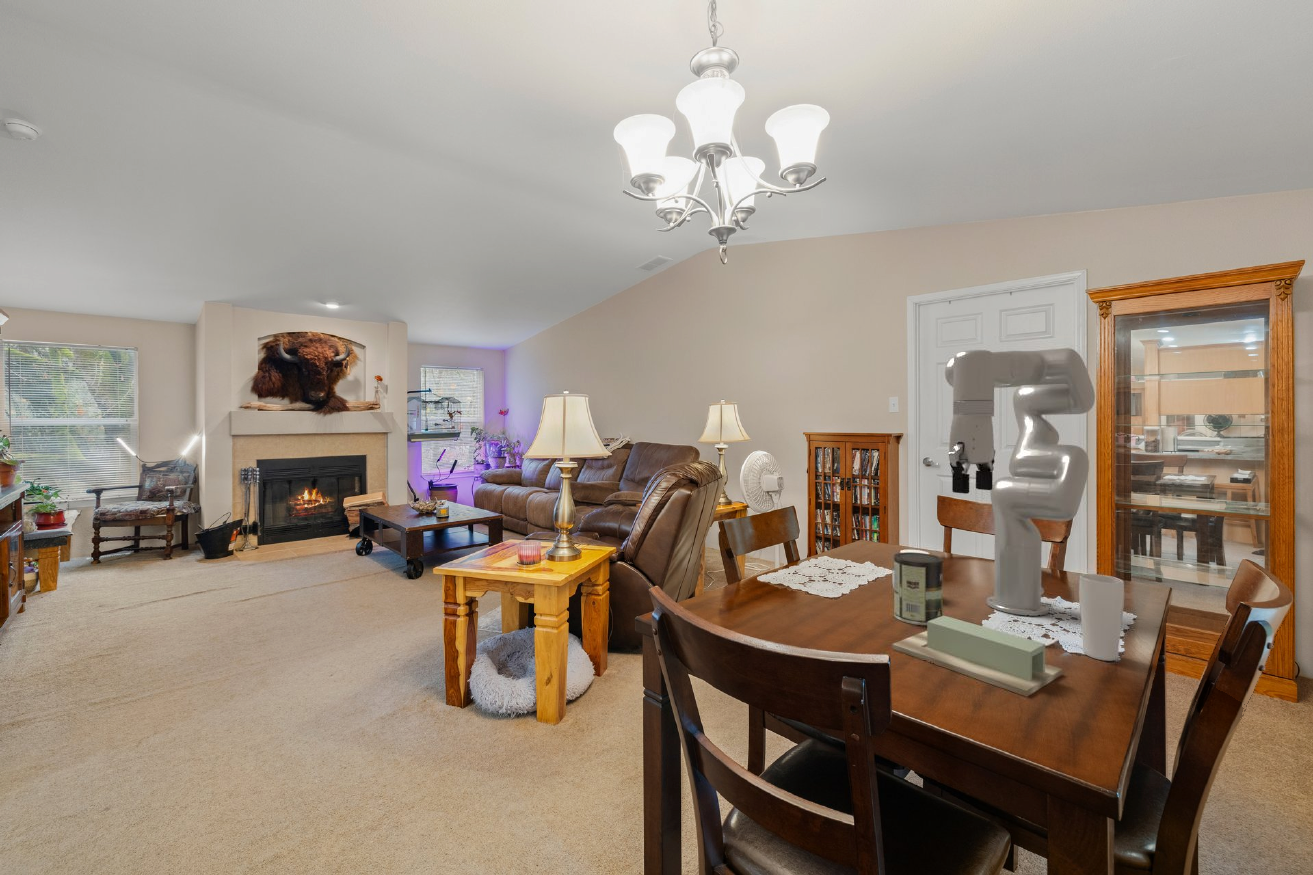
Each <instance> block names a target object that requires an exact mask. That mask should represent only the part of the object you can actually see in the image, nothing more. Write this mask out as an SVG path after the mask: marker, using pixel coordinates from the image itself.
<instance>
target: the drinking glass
mask: <svg viewBox="0 0 1313 875" xmlns="http://www.w3.org/2000/svg"><path fill="white" fill-rule="evenodd" d="M1078 600H1079V602H1078V603H1079V612H1080V623H1081V633H1082V636H1081V637H1082V651H1083V654H1085V655H1086V656H1088V657H1090V658H1092V659H1094V660H1098V661H1103V662H1104V661H1105V662H1113V660H1114V661H1116V660H1118V658H1119V646H1120V638H1121V630H1122V622H1123V613H1124V605H1125V581H1124V580H1123V579H1120V578H1118V577H1115V576H1111V575H1106V574H1105V575H1104V574H1095V573H1083V574H1080V575H1079V583H1078Z"/></svg>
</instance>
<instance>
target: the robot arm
mask: <svg viewBox="0 0 1313 875" xmlns="http://www.w3.org/2000/svg"><path fill="white" fill-rule="evenodd" d="M944 376H945V379H946V382H947V383H948V385H949V386H950V387H951V388H952V389H953V390H952V391H953V393H952V396H953V399H952V408H953V409H952V421H951V426H950V434H949V447H948V461H949V466H950V469H951V470H950V472H951V474H952V475H951V476H952V477H951V480H952V483H951V484H952V485H951V488H952V489H951V490H952V493H954V494H955V493H957V494H965V495H966V494H969V493H970V473H968V472H969V469H970V466H971V465H975V466H976V468H977V470H975V488H976V490H983V491H990V501H991V502H990V503H991V506H992V512H993V522H994V565H993V566H994V568H993V569H994V577H993V578H994V579H993V580H994V581H993V582H994V583H993V584H994V586H993V587H994V588H993V589H994V590H993V591H994V592H993V593H994V594H993V595H991V596H988V597H987V598H986V604H987V605H988V606H989V607H990V608H992V609H995V610H997V611H1000V612H1003V613H1008V614H1013V615H1019V616H1027V615H1029V617H1032V616H1035V617H1036V616H1037V617H1038V615H1040V616H1044V615H1047V614H1049V612H1050V608H1049V605H1047V604H1046V603H1044V602H1042V595H1043V594H1044V592H1045V589H1044V588H1043V587H1042V542H1043V541H1042V535H1041V532H1040V530H1039V529H1038V527H1037V526H1036V525H1035V523H1034V521H1032V519H1036V520H1037V519H1038V520H1044V521H1045V520H1047V521H1055V522H1056V521H1057V522H1068V521H1070V520H1073V519H1074V518H1076V515H1077V514H1078V511H1079V508H1080V504H1081V502H1082V499H1083V494H1084V490H1085V487H1086V484H1087V480H1088V476H1089V472H1090V461H1089V456H1088V454H1087V452H1086V451H1085V449H1083V448H1082V447H1080V446H1077V445H1073V444H1060V443H1059V441H1060V434H1059V431H1057V429H1056V428H1055V427H1054V426H1053V425H1052V423H1050V422H1049V421H1048V420H1047V419H1045V418H1044V417H1043V416H1044V415H1045V416H1052V415H1057V416H1058V415H1063V416H1064V415H1082V414H1086V413H1088V412H1090V411H1091V409H1092V408H1093V407H1094V405H1095V399H1096V394H1095V390H1094V385H1093V383H1092V380H1091V378H1090V375H1089V372H1088V369H1087V366H1086V364H1085V362H1084V360H1083V358H1082V357H1081V355H1080V354H1079V353H1078V351H1076V350H1075V349H1074V348H1073V349H1072V348H1069V347H1065V348H1053V349H1052V348H1051V349H1043V350H1042V349H1041V350H1008V351H994V352H991V350H985V349H973V350H972V349H970V350H964V351H960V352H958V353H956V354H955V355H954V356H952V357H951V358H950V359H949V360H948V361H947V363H946V365H945V368H944ZM995 388H996V389H997V388H998V389H999V388H1003V389H1004V388H1005V389H1006V388H1015V391H1013V392H1014V393H1013V396H1012V405H1013V412H1014V415H1015V419H1016V423H1017V427H1018V430H1019V432H1018V433H1019V434H1018V437H1017V440H1016V442H1015V445H1014V447H1013V450H1012V453H1011V455H1010V459H1009V463H1008V471H1009V474H1010V475H1011V476H1005V477H1000V478H998V479H997V480H995V481H994V482H993V479H994V478H993V477H994V476H993V475H994V474H993V471H994V464H995V457H996V452H997V451H996V449H994V448H995V447H994V446H995V445H994V444H995V443H994V426H993V418H992V417H995Z"/></svg>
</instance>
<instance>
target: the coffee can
mask: <svg viewBox="0 0 1313 875" xmlns="http://www.w3.org/2000/svg"><path fill="white" fill-rule="evenodd" d="M893 559H894V560H893V561H894V563H893V566H894V588H893V591H894V593H893V594H894V600H893V602H894V604H893V605H894V606H893V607H894V609H893V610H894V614H893V616H894V618H895V619H897V620H899V621H901V622H903V623H906V624H910V625H916V626H924V627H925V626H927V622H928V621H930V620H933V619H936V618H938V617H941V616H943V581H944V580H943V576H944V575H943V571H944V570H943V563H944V559H943V558H942V557H941V556H938V555H934V554H932V553H931V554H930V553H929V554H925V553H913V552H905V553H900V552H898V553H895V554H894V555H893Z"/></svg>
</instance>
